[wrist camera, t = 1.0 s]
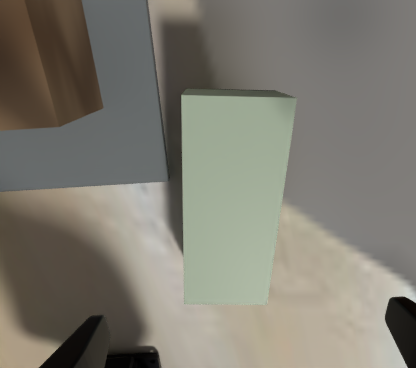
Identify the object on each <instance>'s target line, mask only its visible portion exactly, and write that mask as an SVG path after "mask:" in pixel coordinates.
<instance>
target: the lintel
mask: <svg viewBox="0 0 416 368" xmlns="http://www.w3.org/2000/svg"><path fill="white" fill-rule="evenodd" d="M296 101H297V98H296V97H292V96H290V95H287V94H284V93H281V92H278V91H275V90H233V89H231V90H230V89H186V90H185V91H184V92H183V94H182V95H181V113H182V185H183V257H184V304H232V305H267V301H268V294H269V287H270V280H271V273H272V266H273V260H274V253H275V246H276V239H277V232H278V225H279V218H280V212H281V205H282V198H283V190H284V184H285V177H286V170H287V164H288V156H289V150H290V143H291V136H292V129H293V122H294V115H295V108H296Z"/></svg>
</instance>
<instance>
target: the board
mask: <svg viewBox="0 0 416 368" xmlns="http://www.w3.org/2000/svg"><path fill="white" fill-rule="evenodd" d="M82 5H83V10H84V15H85V19H86V24H87V29H88V34H89V39H90V44H91V49H92V54H93V59H94V63H95V68H96V73H97V78H98V83H99V88H100V93H101V98H102V103H103V107H104V108H103V109H101V110H98V111H96V112H94V113H91V114H89V115H87V116H84V117H82V118H80V119H77V120H75V121H72V122H70V123H68V124H65V125H63V126H61V127H52V128H36V129H21V130H5V131H0V192H3V191H20V190H36V189H52V188H68V187H84V186H101V185H117V184H133V183H149V182H165V181H169V178H170V177H169V169H168V161H167V153H166V145H165V136H164V128H163V120H162V112H161V104H160V96H159V88H158V80H157V72H156V64H155V56H154V48H153V40H152V32H151V24H150V16H149V8H148V0H82Z"/></svg>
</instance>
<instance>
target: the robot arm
mask: <svg viewBox="0 0 416 368" xmlns="http://www.w3.org/2000/svg"><path fill="white" fill-rule="evenodd" d="M385 321H386V324H387V326H388V328H389V330H390V332H391V334H392V336H393V338H394V341H395V343H396V345H397V347H398V349H399V351H400V353H401V355H402V357H403V359H404V361H405V363H406V365H407V367H408V368H416V303H415V302H413V301H412V300H410V299H408V298H406V297H392V298H390V299H389V302H388V306H387V310H386V314H385ZM109 343H110V331H109V327H108V324H107V320H106V317H105V316H104V315H93V316H90V317H89V318H88V319H87V320H86V321H85V322H84V323H83V324H82V325H81V326H80V327H79V328H78V329H77V330H76V331H75V332H74V333H73V334H72V335H71V336H70V337H69V338H68V339H67V340H66V341H65V342H64V343H63V344H62V345H61V346H60V347H59V348H58V349H57V350H56V351H55V352H54V353H53V354H52V355H51V356H50V357H49V358H48V359H47V360H46V361H45V362H44V363H43V364H42V365H41V366H40V367H39V368H161V364H160V358H159V355H158V354H156V353H143V354H125V355H107V352H108V348H109Z"/></svg>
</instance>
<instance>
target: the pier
mask: <svg viewBox="0 0 416 368" xmlns="http://www.w3.org/2000/svg"><path fill="white" fill-rule="evenodd" d="M103 108H104V107H103V103H102V98H101V93H100V88H99V83H98V78H97V73H96V68H95V63H94V59H93V54H92V49H91V44H90V39H89V34H88V29H87V24H86V19H85V15H84V10H83V5H82V0H0V131H5V130H21V129H36V128H52V127H61V126H63V125H65V124H68V123H70V122H72V121H75V120H77V119H80V118H82V117H84V116H87V115H89V114H91V113H94V112H96V111H98V110H101V109H103Z"/></svg>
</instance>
